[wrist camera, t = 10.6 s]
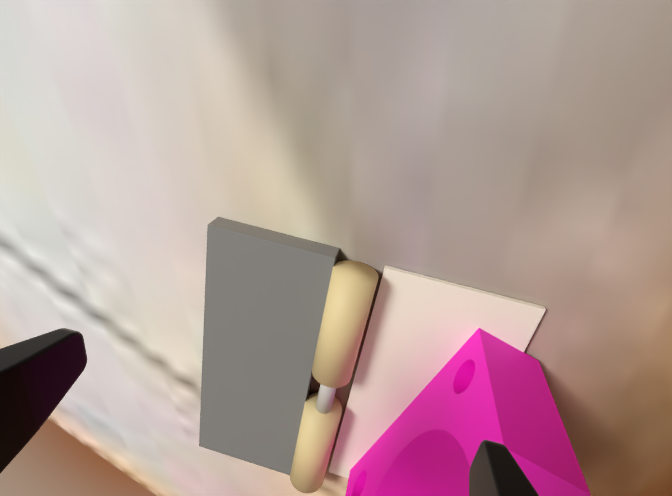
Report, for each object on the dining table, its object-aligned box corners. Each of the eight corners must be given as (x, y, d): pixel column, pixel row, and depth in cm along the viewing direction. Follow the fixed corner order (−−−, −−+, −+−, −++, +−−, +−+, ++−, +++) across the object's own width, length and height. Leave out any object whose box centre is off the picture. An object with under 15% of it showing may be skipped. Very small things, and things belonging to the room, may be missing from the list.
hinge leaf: (382, 259, 21) (378, 281, 19) (325, 470, 29) (318, 502, 27) (218, 216, 22) (196, 233, 20) (207, 432, 30) (190, 460, 28)
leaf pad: (544, 306, 20) (545, 309, 20) (442, 504, 28) (442, 508, 28) (385, 265, 21) (384, 267, 21) (329, 468, 29) (328, 472, 29)
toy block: (425, 510, 28) (426, 648, 22) (350, 469, 28) (327, 596, 21) (577, 382, 21) (647, 526, 15) (478, 327, 21) (504, 447, 15)
